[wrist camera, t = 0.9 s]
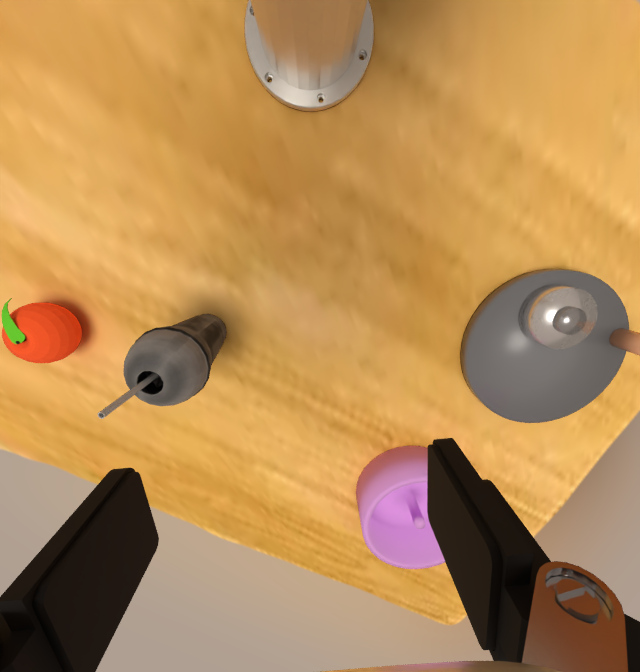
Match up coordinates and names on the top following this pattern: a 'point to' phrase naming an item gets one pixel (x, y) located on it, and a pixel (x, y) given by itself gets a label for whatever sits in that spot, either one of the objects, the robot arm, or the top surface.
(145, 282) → the top surface
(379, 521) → the container set
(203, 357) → the beverage cup
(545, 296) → the cover
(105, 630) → the robot arm
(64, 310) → the tomato
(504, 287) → the grey domed disc
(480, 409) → the top surface
